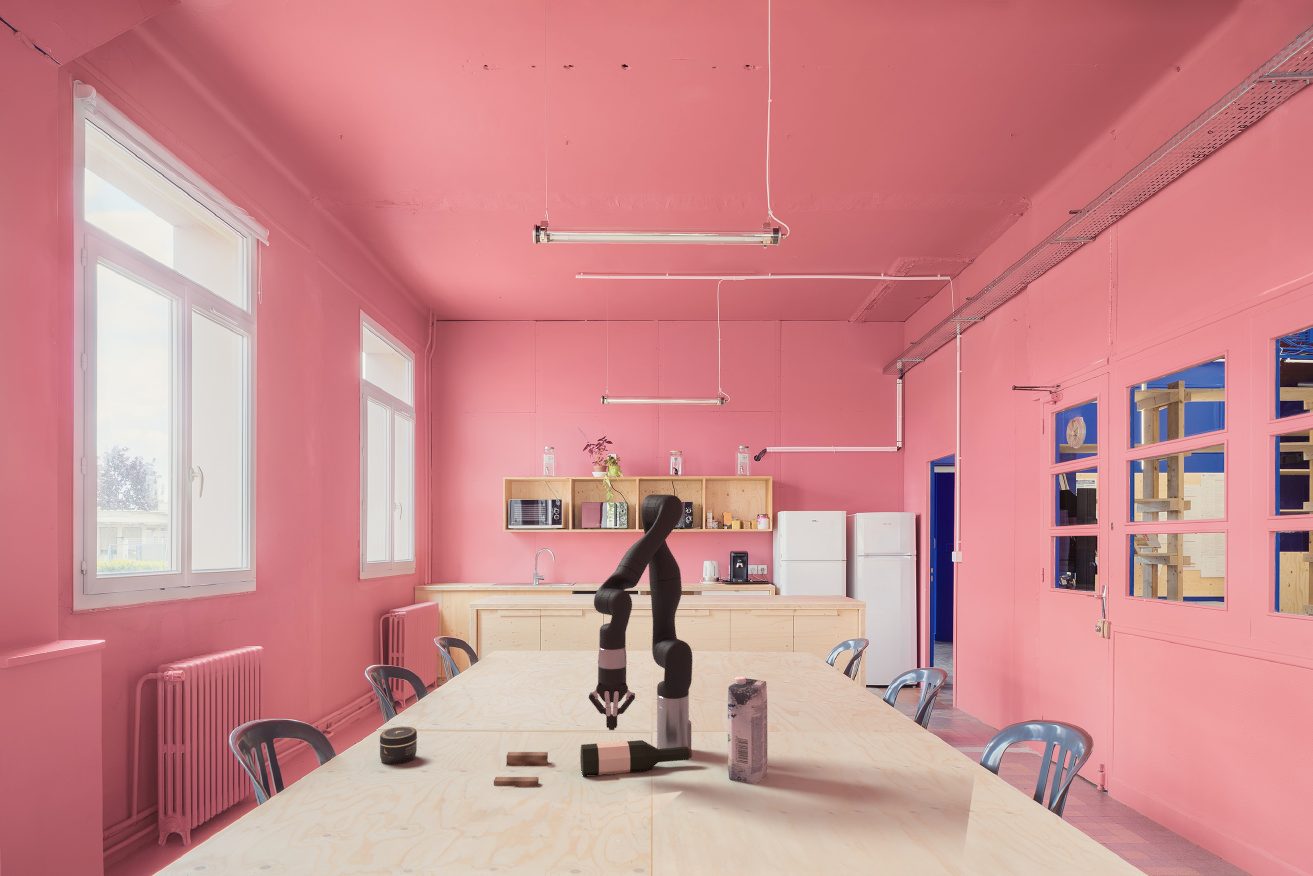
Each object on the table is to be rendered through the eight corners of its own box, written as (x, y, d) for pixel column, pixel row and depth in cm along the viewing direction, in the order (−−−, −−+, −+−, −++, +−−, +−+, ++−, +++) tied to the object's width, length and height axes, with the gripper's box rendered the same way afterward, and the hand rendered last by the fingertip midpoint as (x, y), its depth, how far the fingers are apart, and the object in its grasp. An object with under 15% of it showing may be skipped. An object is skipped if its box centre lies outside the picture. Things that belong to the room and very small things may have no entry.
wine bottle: (583, 778, 196) (695, 769, 202) (582, 744, 200) (692, 736, 205) (581, 778, 204) (689, 769, 210) (579, 745, 207) (686, 737, 213)
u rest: (547, 762, 210) (547, 752, 210) (537, 793, 192) (537, 781, 192) (508, 762, 210) (508, 752, 210) (493, 793, 192) (493, 781, 192)
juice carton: (770, 777, 201) (769, 675, 202) (758, 793, 191) (757, 685, 192) (738, 771, 205) (737, 671, 205) (725, 786, 195) (724, 681, 196)
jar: (371, 763, 210) (371, 735, 210) (396, 750, 219) (396, 724, 220) (400, 769, 206) (400, 740, 207) (424, 755, 216) (424, 728, 216)
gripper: (637, 660, 205) (636, 724, 205) (588, 659, 206) (588, 724, 205) (636, 667, 198) (636, 734, 197) (586, 667, 198) (585, 734, 198)
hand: (611, 729), depth 201 cm, fingers closed
